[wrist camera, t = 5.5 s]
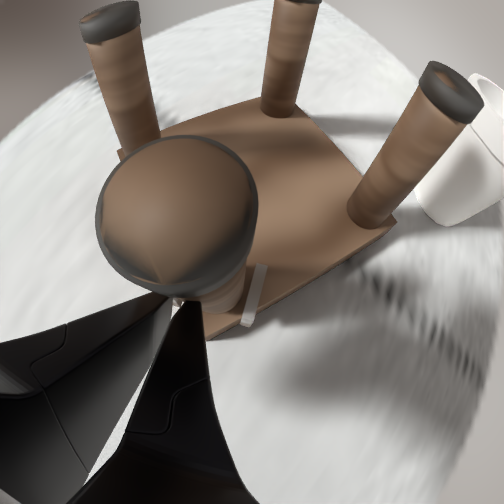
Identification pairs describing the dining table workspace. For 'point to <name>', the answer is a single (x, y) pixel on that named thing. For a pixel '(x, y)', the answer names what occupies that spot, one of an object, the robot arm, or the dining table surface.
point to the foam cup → (469, 164)
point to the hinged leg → (180, 220)
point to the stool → (286, 151)
